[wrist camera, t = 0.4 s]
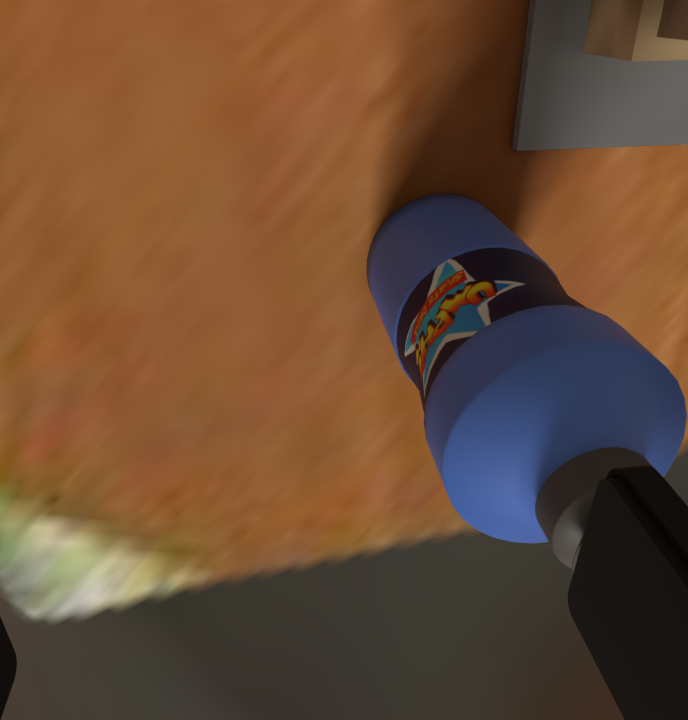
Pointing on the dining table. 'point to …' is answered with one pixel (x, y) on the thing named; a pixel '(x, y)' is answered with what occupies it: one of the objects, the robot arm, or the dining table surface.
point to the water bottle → (515, 374)
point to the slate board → (592, 89)
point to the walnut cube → (674, 20)
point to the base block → (630, 32)
